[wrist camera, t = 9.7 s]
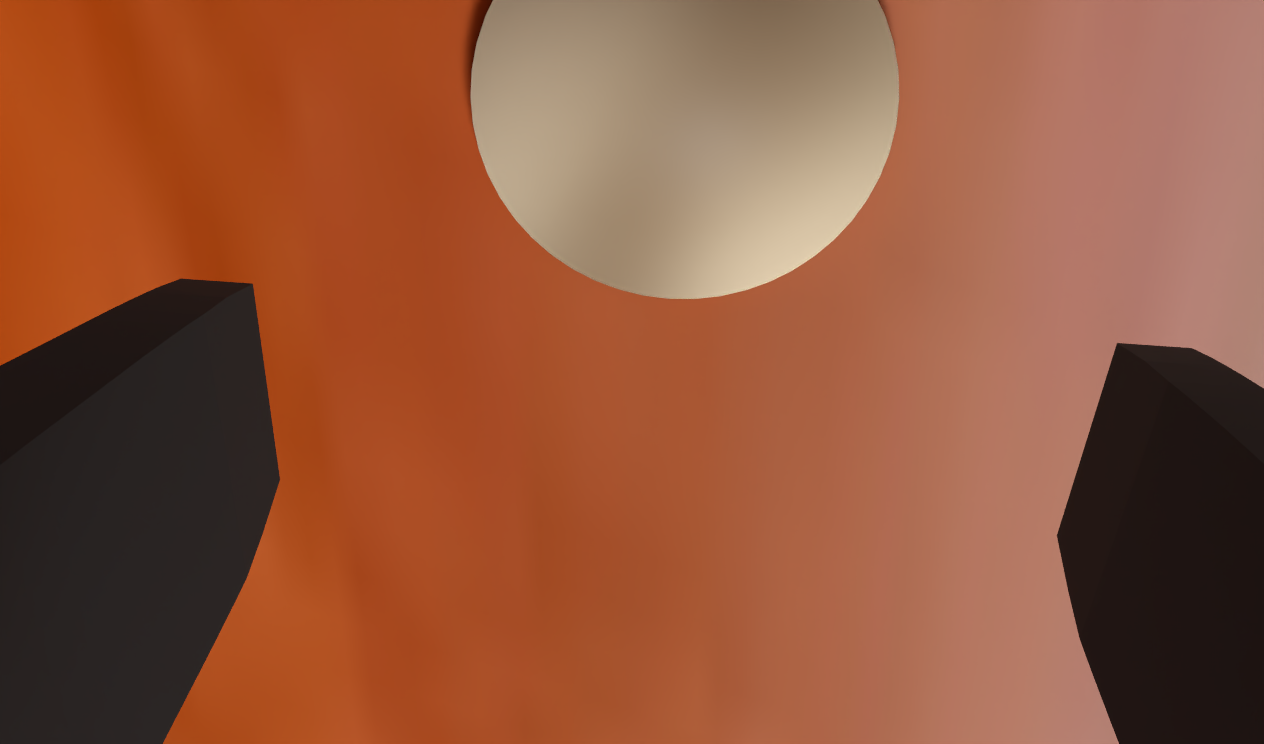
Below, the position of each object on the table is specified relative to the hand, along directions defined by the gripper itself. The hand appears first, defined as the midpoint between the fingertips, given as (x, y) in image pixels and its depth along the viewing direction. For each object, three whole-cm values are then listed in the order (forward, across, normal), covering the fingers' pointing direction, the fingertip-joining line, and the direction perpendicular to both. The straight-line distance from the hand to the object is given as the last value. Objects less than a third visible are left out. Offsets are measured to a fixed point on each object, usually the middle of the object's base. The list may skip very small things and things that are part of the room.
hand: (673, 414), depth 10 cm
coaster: (+8, 0, 0) cm, 8 cm away
